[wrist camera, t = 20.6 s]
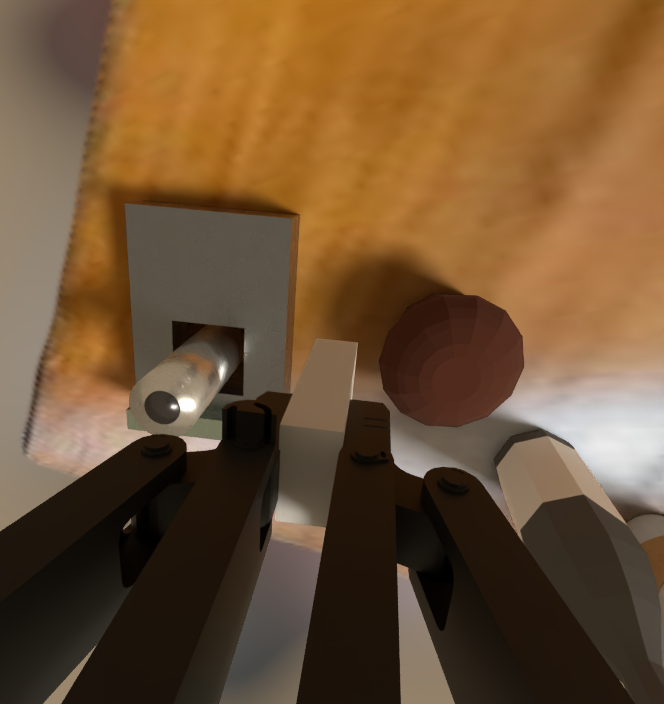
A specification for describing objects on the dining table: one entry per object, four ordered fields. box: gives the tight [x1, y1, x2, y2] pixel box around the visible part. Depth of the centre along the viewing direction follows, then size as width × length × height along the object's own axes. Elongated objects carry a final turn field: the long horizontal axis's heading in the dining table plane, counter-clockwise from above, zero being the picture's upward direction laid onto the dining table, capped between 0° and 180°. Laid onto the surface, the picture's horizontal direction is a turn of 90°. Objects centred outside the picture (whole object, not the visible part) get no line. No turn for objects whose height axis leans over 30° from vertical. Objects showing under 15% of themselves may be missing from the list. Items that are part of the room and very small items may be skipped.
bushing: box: [129, 324, 244, 437], centre depth 42 cm, size 5×5×14 cm
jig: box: [125, 201, 300, 440], centre depth 45 cm, size 20×14×6 cm
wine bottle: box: [494, 429, 664, 704], centre depth 36 cm, size 8×8×30 cm
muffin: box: [379, 292, 524, 427], centre depth 42 cm, size 12×11×10 cm
